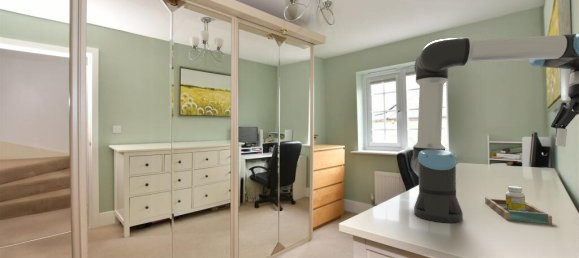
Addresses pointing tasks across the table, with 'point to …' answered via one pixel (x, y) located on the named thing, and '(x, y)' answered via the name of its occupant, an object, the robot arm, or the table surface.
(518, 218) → the wooden tray
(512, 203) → the supplement bottle
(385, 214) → the table surface
